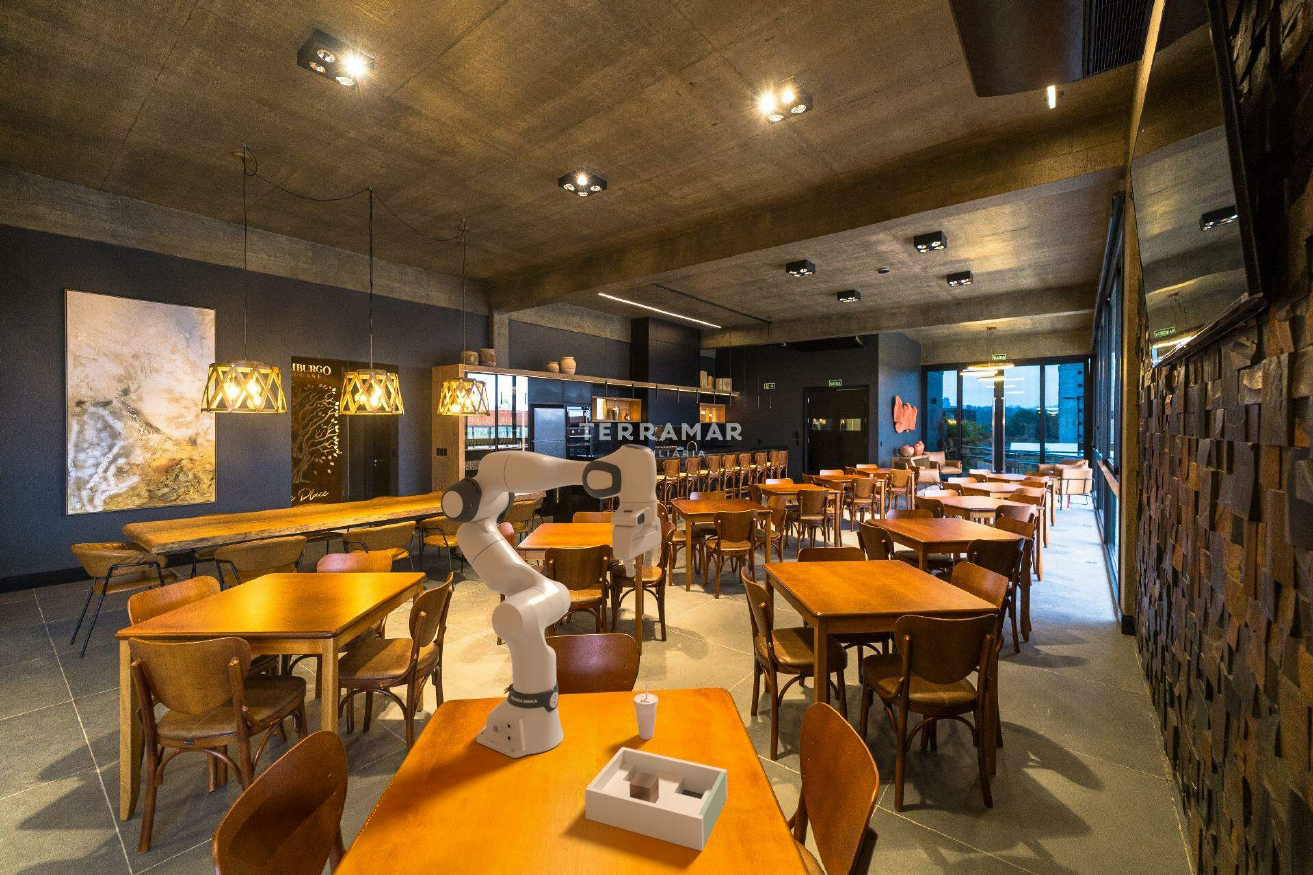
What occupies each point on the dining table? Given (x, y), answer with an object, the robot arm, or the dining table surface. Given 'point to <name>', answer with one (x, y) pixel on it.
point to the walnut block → (645, 787)
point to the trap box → (683, 797)
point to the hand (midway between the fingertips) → (639, 571)
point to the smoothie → (646, 713)
